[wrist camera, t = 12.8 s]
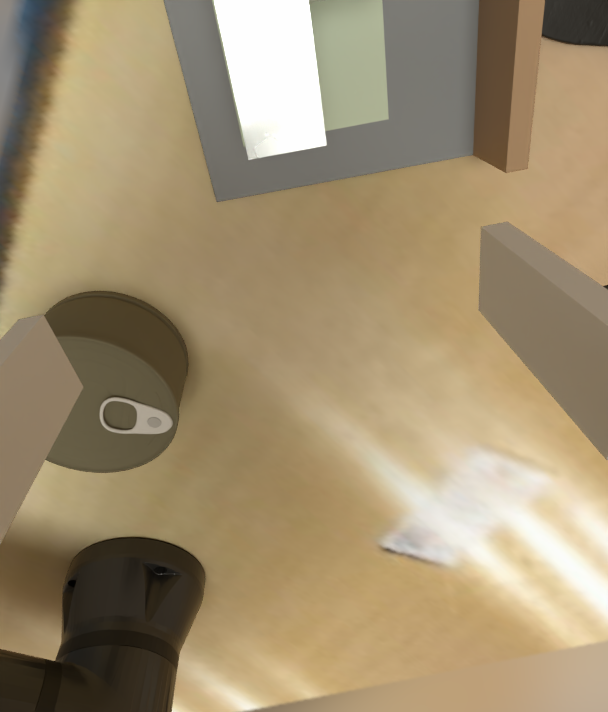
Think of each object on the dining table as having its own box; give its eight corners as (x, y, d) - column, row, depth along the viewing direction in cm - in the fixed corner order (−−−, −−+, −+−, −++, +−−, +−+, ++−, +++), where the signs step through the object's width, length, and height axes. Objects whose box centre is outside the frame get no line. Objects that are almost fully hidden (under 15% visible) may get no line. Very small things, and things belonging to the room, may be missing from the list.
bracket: (206, -79, 23) (189, -112, 18) (367, -112, 23) (395, -156, 18) (251, 139, 29) (248, 160, 24) (381, 114, 28) (405, 130, 23)
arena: (217, 199, 31) (208, 227, 27) (112, -201, 21) (69, -269, 16) (488, 149, 31) (527, 168, 26) (512, -287, 20) (584, -384, 16)
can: (31, 271, 33) (-17, 319, 28) (201, 307, 36) (189, 357, 30) (36, 400, 39) (-3, 460, 34) (180, 423, 42) (167, 483, 36)
